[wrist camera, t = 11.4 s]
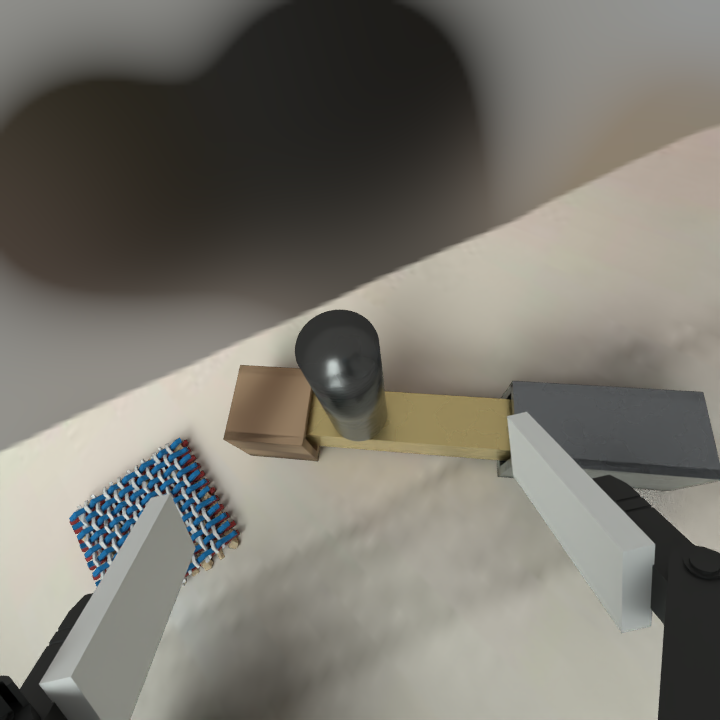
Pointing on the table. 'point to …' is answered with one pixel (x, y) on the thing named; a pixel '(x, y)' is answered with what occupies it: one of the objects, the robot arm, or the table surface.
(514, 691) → the table surface
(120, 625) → the robot arm
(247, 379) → the socket
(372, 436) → the slide bolt with knob
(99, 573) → the woven mat
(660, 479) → the sleeve
